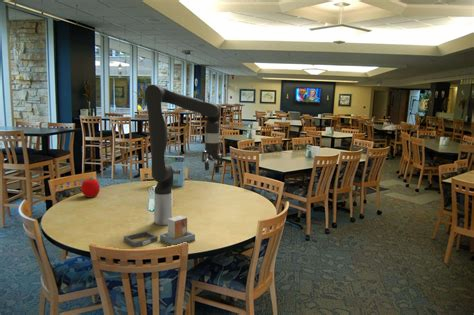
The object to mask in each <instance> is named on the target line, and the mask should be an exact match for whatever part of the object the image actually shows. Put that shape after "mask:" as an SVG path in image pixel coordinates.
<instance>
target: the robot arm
mask: <svg viewBox="0 0 474 315" xmlns="http://www.w3.org/2000/svg"><path fill="white" fill-rule="evenodd" d="M144 99H145V103H146V108H147V114H148V116H147V117H148V118H147V119H148V129H149V130H148V131H149V132H148V133H149V139H150V140H149V141H150V153H151V176H152V178H153V180H154V181H155V182H157V183H156V185H155V187H154V191H153V192H154V205H153V206H154V207H153V209H154V210H153V212H154V215H153V216H154V217H153V218H154V220H153V221H154V223H155V225H158V226H168V219H169V218H173V212H172V211H173V209H172V208H173V198H172V194H173V193H172V192H173V191H172V190H173V188H174V186H173V169H172V166H171V165H170V164H168V163H165V159H164V155H165V154H166V149H167V145H168V137H169V136H168V129H167V124H166V121H165V118H164V115H163V112H162V103H163V104H169V105H170V104H171V105H174V106H176V107H179V108H180V109H184V110H186V111H189V112H194V113H197V114H201V115H203V116H206V122H205V134H204V135H205V136H204V150H202V157H201V162H203V164H204V171H210V161H211V162H212V163H213V164H214V174H219V173H220V167H221V166H222V165H223V154H222V153H219V151H220V125H219V124H220V119H221V118H220V117H221V108H220V106H219V104H217V103H211V102H208V101H203V100H201V99H199V98H195V97H192V96H188V95H185V94H180V93H177V92H173V91H171V90H169V89H167V88H165V87H164V86H162V85H159V84H149V85H147V86H146V88H145V90H144ZM165 156H166V155H165Z"/></svg>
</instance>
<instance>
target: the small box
mask: <svg viewBox="0 0 474 315" xmlns="http://www.w3.org/2000/svg"><path fill="white" fill-rule="evenodd" d="M187 231H188V217H186V216H184V215H180V214H179V215H177V216H172V218H169V219H168V225H167V232H168V237H169V238H171V239H172V240H175V239H178V238H181V237H185V236H187Z"/></svg>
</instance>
